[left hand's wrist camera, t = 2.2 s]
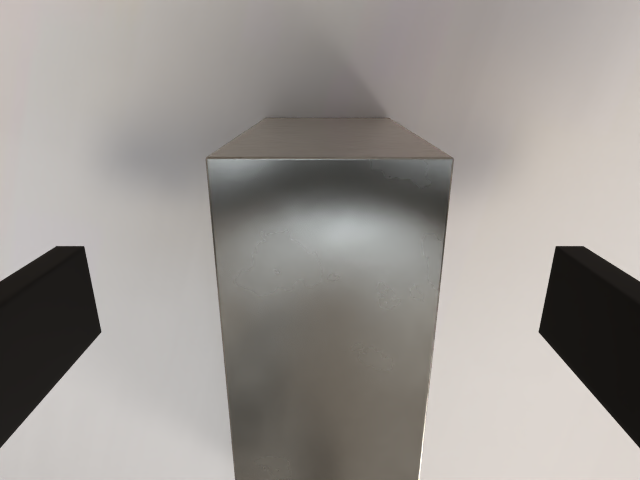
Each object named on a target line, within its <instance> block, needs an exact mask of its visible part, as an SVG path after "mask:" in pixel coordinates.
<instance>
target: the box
mask: <svg viewBox="0 0 640 480" xmlns="http://www.w3.org/2000/svg"><path fill="white" fill-rule="evenodd" d="M453 162H454V159H453V157H451V156H449V155H448V154H446V153H445V152H443V151H441V150H440V149H438V148H437V147H435V146H433V145H432V144H430V143H428V142H427V141H425V140H424V139H422V138H420V137H419V136H417V135H416V134H414V133H412V132H411V131H409V130H408V129H406V128H404V127H403V126H401V125H399V124H398V123H396V122H395V121H393V120H391V119H390V118H265V119H263V120H262V121H260V122H259V123H257V124H256V125H254V126H253V127H251V128H250V129H248V130H247V131H245V132H244V133H242V134H241V135H239V136H238V137H236V138H235V139H233V140H232V141H230V142H229V143H227V144H226V145H224V146H223V147H221V148H220V149H218V150H217V151H215V152H214V153H212V154H211V155H209V156H208V157H206V168H207V178H208V189H209V200H210V211H211V222H212V233H213V244H214V255H215V265H216V276H217V287H218V298H219V309H220V320H221V331H222V341H223V352H224V363H225V374H226V385H227V396H228V407H229V418H230V428H231V439H232V450H233V461H234V472H235V480H419V478H420V469H421V459H422V450H423V441H424V432H425V422H426V413H427V404H428V394H429V385H430V376H431V367H432V357H433V348H434V339H435V329H436V320H437V311H438V302H439V292H440V283H441V274H442V264H443V255H444V246H445V237H446V227H447V218H448V209H449V199H450V190H451V181H452V172H453Z"/></svg>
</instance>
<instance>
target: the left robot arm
mask: <svg viewBox="0 0 640 480" xmlns="http://www.w3.org/2000/svg"><path fill="white" fill-rule="evenodd" d="M100 333H101V328H100V323H99V318H98V313H97V308H96V303H95V298H94V293H93V288H92V283H91V278H90V273H89V268H88V263H87V258H86V253H85V248H84V246H56V247H55V248H53V249H51V250H50V251H48V252H47V253H45V254H43V255H42V256H40V257H39V258H37V259H35V260H34V261H32V262H31V263H29V264H28V265H26V266H24V267H23V268H21V269H20V270H18V271H16V272H15V273H13V274H12V275H10V276H8V277H7V278H5V279H4V280H2V281H0V448H1V447H2V445H3V444H4V443H5V442H6V441H7V440H8V439H9V437H10V436H11V435H12V434H13V433H14V432H15V431H16V429H17V428H18V427H19V426H20V425H21V424H22V422H23V421H24V420H25V419H26V418H27V417H28V416H29V414H30V413H31V412H32V411H33V410H34V409H35V408H36V406H37V405H38V404H39V403H40V402H41V401H42V400H43V398H44V397H45V396H46V395H47V394H48V393H49V392H50V390H51V389H52V388H53V387H54V386H55V385H56V383H57V382H58V381H59V380H60V379H61V378H62V377H63V375H64V374H65V373H66V372H67V371H68V370H69V369H70V367H71V366H72V365H73V364H74V363H75V362H76V361H77V359H78V358H79V357H80V356H81V355H82V354H83V353H84V351H85V350H86V349H87V348H88V347H89V346H90V345H91V343H92V342H93V341H94V340H95V339H96V338H97V336H98V335H99V334H100ZM539 333H540V334H541V335H542V336H543V338H544V339H545V340H546V341H547V342H548V343H549V345H550V346H551V347H552V348H553V349H554V350H555V351H556V353H557V354H558V355H559V356H560V357H561V358H562V359H563V361H564V362H565V363H566V364H567V365H568V366H569V367H570V369H571V370H572V371H573V372H574V373H575V374H576V375H577V377H578V378H579V379H580V380H581V381H582V382H583V383H584V385H585V386H586V387H587V388H588V389H589V390H590V392H591V393H592V394H593V395H594V396H595V397H596V398H597V400H598V401H599V402H600V403H601V404H602V405H603V406H604V408H605V409H606V410H607V411H608V412H609V413H610V414H611V416H612V417H613V418H614V419H615V420H616V421H617V422H618V424H619V425H620V426H621V427H622V428H623V429H624V431H625V432H626V433H627V434H628V435H629V436H630V437H631V439H632V440H633V441H634V442H635V443H636V444H637V445H638V447H639V448H640V281H638V280H636V279H635V278H633V277H632V276H630V275H628V274H627V273H625V272H624V271H622V270H620V269H619V268H617V267H616V266H614V265H612V264H611V263H609V262H608V261H606V260H605V259H603V258H601V257H600V256H598V255H597V254H595V253H593V252H592V251H590V250H589V249H587V248H585V247H584V246H556V248H555V253H554V258H553V263H552V268H551V273H550V278H549V283H548V288H547V293H546V298H545V303H544V308H543V313H542V318H541V323H540V328H539Z"/></svg>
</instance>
